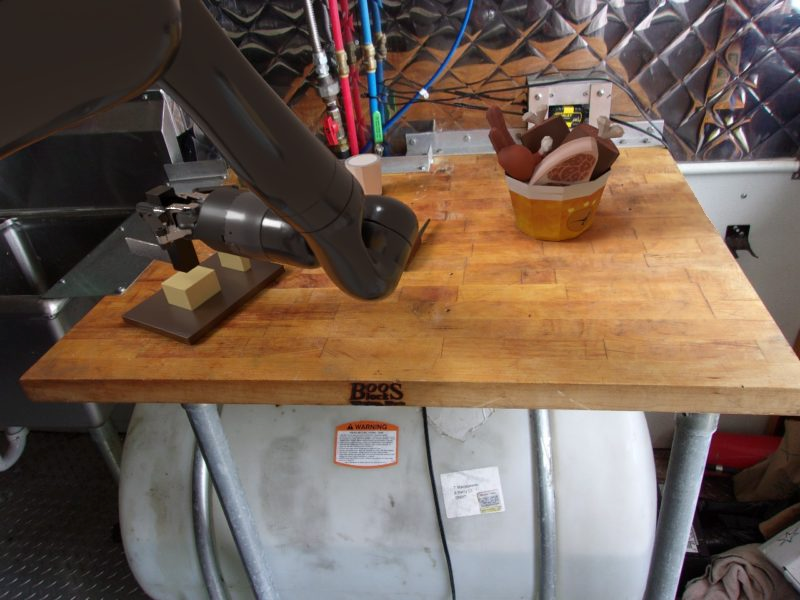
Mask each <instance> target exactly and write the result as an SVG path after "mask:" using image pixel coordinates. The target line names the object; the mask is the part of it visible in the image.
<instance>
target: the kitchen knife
mask: <svg viewBox="0 0 800 600" xmlns="http://www.w3.org/2000/svg"><path fill="white" fill-rule="evenodd" d="M430 223H431V218H427V219H426V221H425V222H424V223H423V225H422V226H421V228H420V229H419V230H418V235H417V238H416V241H415V243H414V246H413V248H412V250H411V253H410V256H409V258H408V261H407V263H406V266H405V268H404V270H406V269H407V268H408V266H409V264H410V262H412V261H411V260H412V259H413V257H414V256H415V253H416V251H417V250H418V249H419V247H420V246H421V244H422V236H423V235H424V233H425V231H426V230H427V228H428V226H429V225H430Z"/></svg>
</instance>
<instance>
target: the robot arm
mask: <svg viewBox="0 0 800 600" xmlns="http://www.w3.org/2000/svg"><path fill="white" fill-rule="evenodd" d="M222 28H223V27H222V26H221V24H219V22H218V21H217V19H216V18H215V16H213V14H212V13H211V12H210V10H209V9H208V7H207V6H206V4H205V2H204V1H203V0H0V162H1V161H3V160H4V159H6V158H8V157H9V156H12V155H13V154H16V153H17V152H19V151H21V150H23V149H25V148H27V147H29V146H32V145H33V144H36V143H38V142H40V141H43V140H44V139H47V138H49V137H51V136H53V135H56V134H58V133H60V132H62V131H65V130H67V129H69V128H71V127H74V126H76V125H78V124H80V123H82V122H85V121H87V120H89V119H92V118H93V117H96V116H98V115H101V114H103V113H106V112H108V111H110V110H111V109H114V108H116V107H118V106H120V105H122V104H125V103H126V102H128V101H131V100H133V99H135V98H136V97H138V96H140V95H142V94H144V93H145V92H147V91H149V90H150V89H151V88H152V87H154V86H155V85H156V86H157V88H159V89H161V90H162V91H163V93H165V94H166V95H167V96H168V97H169V98H170V99H171V100H172V101H173V102H175V104H176V105H177V106H178V107H179V108H180V109H181V111H183V112H184V113H185V114H186V115H187V116H188V117H189V118H190V119H191V120H192V122H193V123H194V124H195V125H196V126H197V128H198V129H199V130H200V131H201V132H202V134H203V135H204V136H205V138H206V139H207V140H208V141H209V142H210V143H211V145H212V146H213V147H214V149H215V150H216V151H217V153H218V154H219V155H220V157H221V158H222V159H223V161H224V162H225V163H226V164H227V165H228V166H229V168H230V169H231V170H232V172H233V173H234V174H235V175H236V176H238V177H239V179H240V180H241V181H242V182H243V183H244V184H245V185H246V187H245V188H247V189H241V188H240V186H239V185H238V184H224V185H223V184H222V185H212V186H203V187H202V186H201V187H195V188H193V189H191V192H192V193H189V192H181V193H178V194H177V193H176V196H177V199H178V202H179V204H176V203H173V204H171V205H170V206H159V205H156V204H150V203H149V202H145V201H140V202H138V203H136V204H135V210H136V213H137V215H138V217H139V220H140V221H142V222H146V224H147V226H148V228H149V233H150V235H151V237H152V238H153V240H154V241H155V242H156V244H158V245H159V247H160V248H161V249H162V250H167V249H170V248H171V247H172V244H171V243H172V242H173V240H176V239H179V238H182V237H183V238H184V239H186V240H192V241H201V242H202V243H203V244H204V245H206V246H207V248H210V249H211V250H213V251H215V252H217V251H218V252H222V253H227V254H231V255H235V256H240V257H244V258H249V259H253V260H258V261H265V262H273V263H277V264H281V265H287V266H290V267H296V268H299V269H304V270H318V269H320V268H322V270H323V272H324V273H325V274H326V276H327V277H328V278H329V280H330V281H331V282H332V283H333V284H334V286H336V287H337V288H338V290H340V291H341V292H342V293H344V294H345V296H346V295H347V296H348V297H349V298H351V299H354V300H356V301H359V302H362V303H371V304H373V303H379V302H382V301H385V300H386V299H388V298H390V297H391V296H392V295H393V294H394V293H395V291H396V290H397V288H398V286H399V284H400V281H401V278H402V275H403V273H404V271H405V269H404V268H405V266H406V263H407V261H408V258H409V256H410V253H411V250H412V248H413V246H414V243H415V241H416V238H417V235H418V232H419V231H420V229H419V228H420V224H419V220H418V217H417V214H416V213H415V212H414V211H413V209H412V208H411V207H410V206H409V205H408V204H406V203H405V202H403V201H401V200H399V199H398V198H396V197H392V196H389V195H385V194H381V195H374V194H368V195H365V193H364V190H363V188H362V186H361V184H360V183H359V181H358V180H357V179H356V178H355V176H354V175H353V174H352V173H351V172H350V171H349V170H348V169H347V168H346V166H345V164H343V163H342V161H340V159H339V158H338V157H337V156H336V155H335V154H334V153H333V151H331V149H330V148H328V146H327V145H326V144H324V143H323V142H322V140H321V139H320V138H319V137H318V136H317V135H316V134H315V133H314V132H313V131H312V130H311V128H309V127H308V126H307V125H306V123H304V122H303V121H302V119H300V117H298V115H297V114H296V113H295V112H294V111H293V110H292V109H291V108H290V107H289V105H287V103H286V102H285V101H284V100H283V99H282V98H281V97H280V96H279V95H278V93H277V92H276V91H275V90H274V89H273V88H272V87H271V86H270V85H269V84H268V82H267V81H266V80H265V79H264V78H263V77H262V75H261V74H260V73H259V72H258V70H256V69H255V67H254V66H253V65H252V64H251V63H250V61H249V60H248V59H247V57H245V55H244V54H243V53H242V51H241V50H240V49H239V48H238V47H237V46H236V44H235V43H234V42H233V40H232V39H231V38H230V37H229V35H228V33H227V34H226V33H225V32H224V30H223V29H222ZM238 177H237V178H238ZM206 194H207V195H206ZM166 215H167V216H168V218H167V216H166ZM168 219H169V221H168Z"/></svg>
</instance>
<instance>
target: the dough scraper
mask: <svg viewBox="0 0 800 600" xmlns="http://www.w3.org/2000/svg"><path fill="white" fill-rule="evenodd" d="M176 194H177V193H176V190H175V187H173V186H168V185H162V184H160V185H158V186H156V187H154V188H152V189H150V190H148V191H146V192H145V196H146V199H147V201H148V203H150V204H156V205H159V206H170V205H171V204H173V203H176V204H179V202H178V199H177V196H176ZM166 216H167V215H166ZM167 218H168V216H167ZM168 221H169V219H168ZM124 239H125V241H126V244H127V246H128V249H129V251H130V253H131V255H135V256H140V257H142V258H143V257H144V258H147V259H151V260H155V261H159V262H163V263H166V264H171V265H172V267H173V271H177V272H179V271H180V272H184V273H188V272H189V271H191V270H192V269H194V268H195V267H197V266H198V265H200V263H201V262H200V259H199V257H198V254H197V250H196V249H195V246H194V243H193V240H186V239H184V238H183V237H182V238H179V239H176V240H173V242H172V243H171V244H172V247H171V248H170V249H167V250H162V249H161V248H160V247H159V245H158V244H157V243H152V242H149V241H144V240H140V239H137V238H132V237H125V238H124Z"/></svg>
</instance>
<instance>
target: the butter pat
mask: <svg viewBox="0 0 800 600" xmlns="http://www.w3.org/2000/svg"><path fill="white" fill-rule="evenodd" d="M216 252H218V251H216ZM218 255H219V259H220V262H221V265H222V266H223V267H227V268H231V269H235V270H239V271H243V272H246V271H247V270H248V269H250V268H251V265H250V262H249V258H244V257H240V256H235V255H231V254H227V253H222V252H218Z"/></svg>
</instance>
